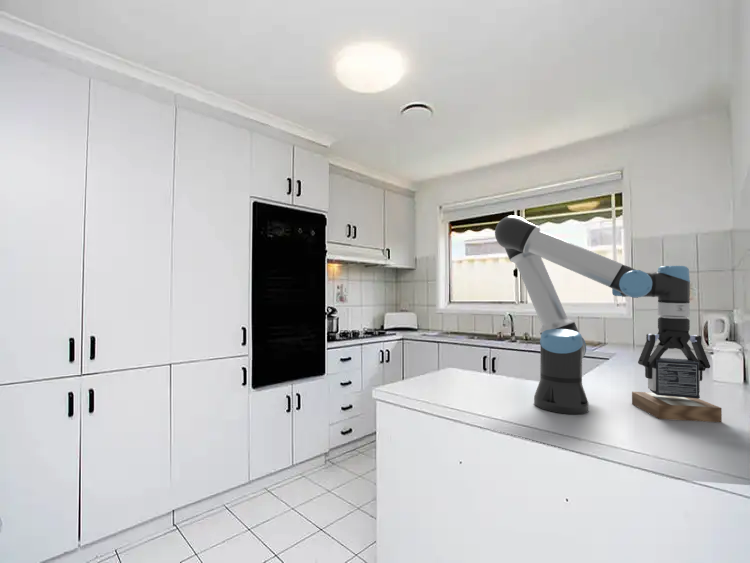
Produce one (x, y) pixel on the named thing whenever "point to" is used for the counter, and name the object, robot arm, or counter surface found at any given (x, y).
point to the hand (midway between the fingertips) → (673, 390)
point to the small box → (677, 378)
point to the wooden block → (676, 407)
